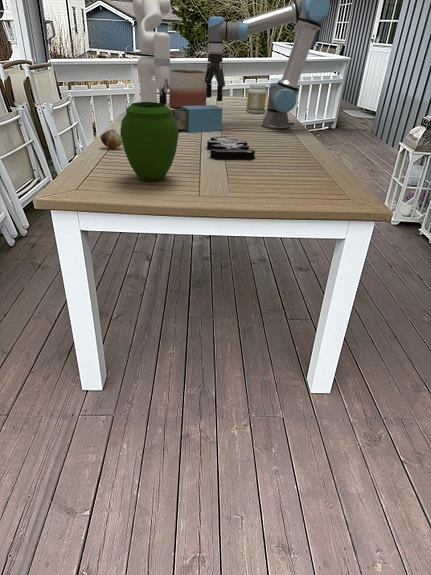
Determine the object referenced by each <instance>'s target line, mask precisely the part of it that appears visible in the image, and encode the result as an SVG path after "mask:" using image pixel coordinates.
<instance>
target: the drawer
mask: <svg viewBox="0 0 431 575" xmlns="http://www.w3.org/2000/svg"><path fill="white" fill-rule="evenodd" d="M170 109H171V108H170ZM171 115H172V116H173V118H174V119H175V120H176V123H177V128H178V130H184V129H188V111H187V110H185V109H178V108H174V109H173V108H172V109H171Z"/></svg>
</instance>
